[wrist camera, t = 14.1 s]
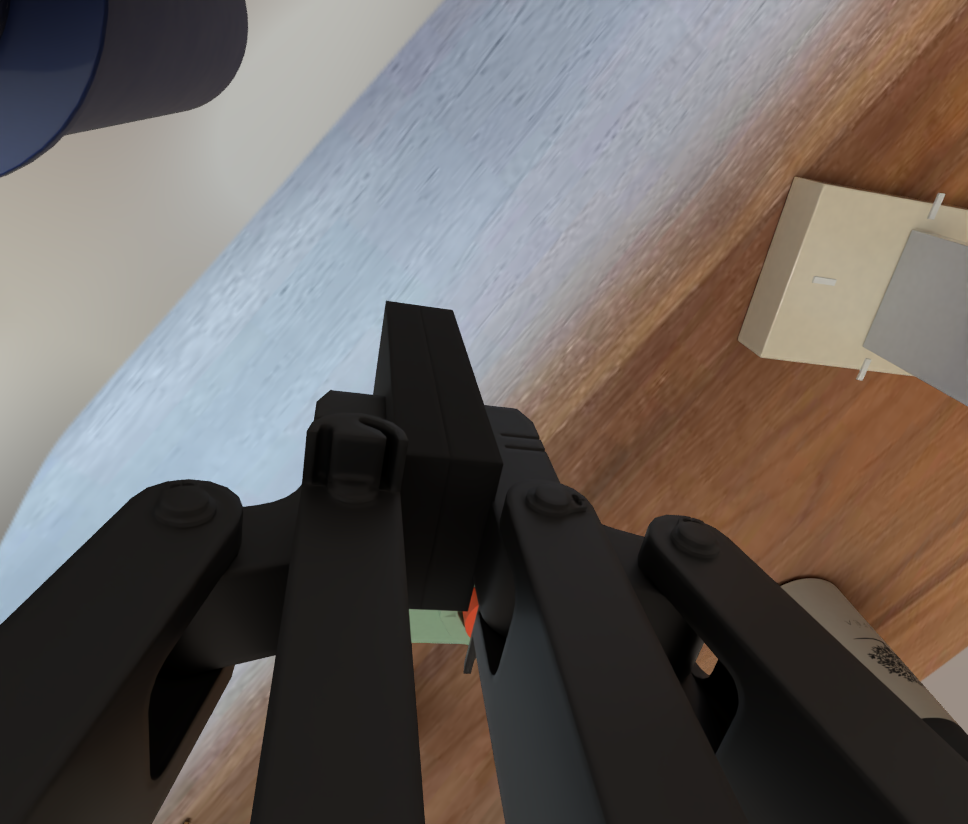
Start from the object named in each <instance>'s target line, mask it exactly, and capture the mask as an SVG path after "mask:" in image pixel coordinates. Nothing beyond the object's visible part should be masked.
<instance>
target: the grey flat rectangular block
mask: <svg viewBox="0 0 968 824" xmlns="http://www.w3.org/2000/svg"><path fill="white" fill-rule="evenodd" d="M863 347H864V348H866V349H868V350H869V351H871V352H873V353H875V354H876V355H878V356H880V357H882V358H883V359H885V360H887V361H889V362H890V363H892V364H894V365H896V366H898V367H899V368H901V369H903V370H905V371H906V372H908V373H910V374H912V375H913V376H915V377H917V378H919V379H920V380H922V381H924V382H926V383H927V384H929V385H931V386H933V387H935V388H936V389H938V390H940V391H942V392H943V393H945V394H947V395H949V396H950V397H952V398H954V399H956V400H957V401H959V402H961V403H963V404H964V405H966V406H968V243H967V242H963V241H960V240H956V239H953V238H950V237H946V236H943V235H939V234H936V233H929V232H923V231H917V230H912V231H911V234H910V236H909V238H908V241H907V243H906V245H905V248H904V250H903V252H902V255H901V257H900V260H899V262H898V264H897V267H896V269H895V271H894V274H893V276H892V278H891V281H890V283H889V285H888V288H887V290H886V292H885V295H884V297H883V300H882V302H881V304H880V307H879V309H878V311H877V314H876V316H875V318H874V321H873V323H872V325H871V328H870V330H869V332H868V335H867V337H866V339H865V342H864V344H863Z"/></svg>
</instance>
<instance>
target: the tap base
mask: <svg viewBox="0 0 968 824" xmlns="http://www.w3.org/2000/svg"><path fill="white" fill-rule="evenodd" d="M944 196H945V194H944V193H938V194H937V196H936V199H935V201H934V202H932V201H926V200H921V199H916V198H910V197H905V196H899V195H894V194H888V193H883V192H877V191H872V190H867V189H861V188H856V187H850V186H845V185H839V184H834V183H828V182H823V181H818V180H812V179H807V178H801V177H794V180H793V182H792V185H791V188H790V191H789V194H788V197H787V200H786V202H785V205H784V208H783V211H782V214H781V217H780V220H779V222H778V225H777V228H776V231H775V234H774V237H773V240H772V242H771V245H770V248H769V251H768V254H767V257H766V260H765V262H764V265H763V268H762V271H761V274H760V277H759V280H758V282H757V285H756V288H755V291H754V294H753V297H752V299H751V302H750V305H749V308H748V311H747V314H746V317H745V319H744V322H743V325H742V328H741V331H740V334H739V337H738V341H739V342H741V343H742V344H743V345H745V346H746V347H747V348H749V349H750V350H751V351H753V352H754V353H755V354H757V355H758V356H759V357H761V358H769V359H777V360H785V361H793V362H801V363H809V364H817V365H826V366H834V367H842V368H850V369H858V370H860V371H859V374H858V376H857V378H856V379H857V380H863V378H864V376H865V374H866V372H867V371H875V372H883V373H891V374H899V375H907V376H913V375H912V374H910V373H908V372H906V371H905V370H903V369H901V368H899V367H898V366H896V365H894V364H892V363H890V362H889V361H887V360H885V359H883V358H882V357H880V356H878V355H876V354H875V353H873V352H871V351H869V350H868V349H866V348H864V347H863V344H864V342H865V339H866V337H867V335H868V332H869V330H870V328H871V325H872V323H873V321H874V318H875V316H876V314H877V311H878V309H879V307H880V304H881V302H882V300H883V297H884V295H885V292H886V290H887V288H888V285H889V283H890V281H891V278H892V276H893V274H894V271H895V269H896V267H897V264H898V262H899V260H900V257H901V255H902V252H903V250H904V248H905V245H906V243H907V241H908V238H909V236H910V234H911V231H912V230H917V231H923V232H929V233H936V234H939V235H943V236H946V237H950V238H953V239H956V240H960V241H963V242H967V243H968V208H965V207H959V206H954V205H948V204H943V203H942V201H943V199H944Z"/></svg>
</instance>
